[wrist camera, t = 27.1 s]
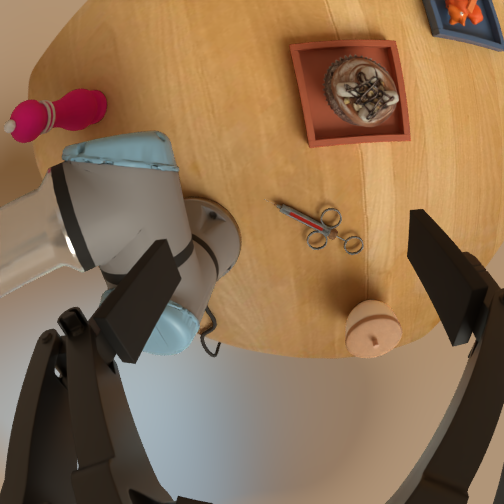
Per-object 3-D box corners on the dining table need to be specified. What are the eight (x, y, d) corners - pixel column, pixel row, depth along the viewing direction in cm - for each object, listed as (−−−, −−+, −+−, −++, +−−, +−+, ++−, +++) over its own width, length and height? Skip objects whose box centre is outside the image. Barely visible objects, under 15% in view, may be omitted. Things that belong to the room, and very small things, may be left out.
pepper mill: (115, 110, 38) (25, 131, 21) (89, 133, 41) (4, 165, 24) (99, 79, 35) (8, 88, 18) (74, 104, 38) (-12, 125, 21)
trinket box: (399, 290, 48) (412, 324, 40) (384, 330, 54) (393, 364, 45) (347, 289, 49) (354, 324, 41) (337, 329, 55) (340, 365, 47)
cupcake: (396, 91, 31) (426, 90, 22) (357, 136, 36) (376, 147, 27) (345, 46, 29) (362, 30, 21) (305, 93, 34) (309, 89, 25)
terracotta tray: (404, 138, 35) (410, 140, 33) (308, 145, 38) (309, 148, 36) (390, 43, 28) (395, 40, 26) (289, 48, 31) (289, 44, 29)
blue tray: (498, 51, 22) (506, 51, 20) (432, 36, 25) (439, 33, 23) (476, -19, 15) (482, -22, 13) (406, -39, 18) (411, -44, 16)
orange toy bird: (470, -30, 11) (454, 9, 18) (496, 3, 14) (481, 44, 20) (449, -29, 15) (431, 9, 21) (475, 1, 18) (459, 40, 24)
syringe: (276, 176, 41) (275, 179, 40) (373, 229, 43) (375, 233, 42) (254, 217, 45) (253, 222, 44) (348, 264, 47) (349, 269, 46)
